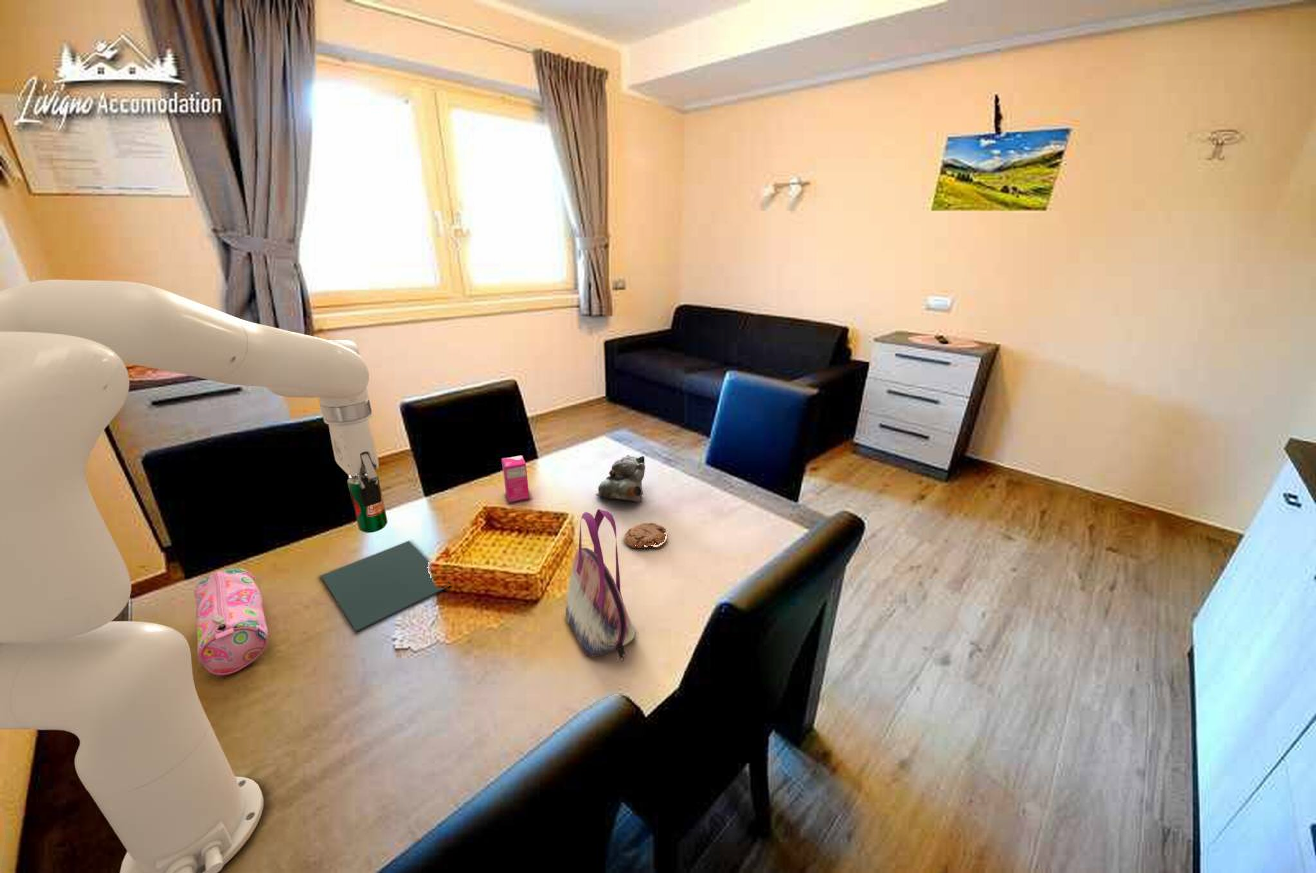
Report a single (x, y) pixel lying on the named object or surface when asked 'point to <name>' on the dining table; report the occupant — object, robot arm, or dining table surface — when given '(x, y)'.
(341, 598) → the place mat
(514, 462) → the supplement box
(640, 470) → the lucky cat figurine
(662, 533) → the cookie
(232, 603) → the pencil case
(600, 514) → the handbag
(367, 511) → the soda can
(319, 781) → the dining table surface
